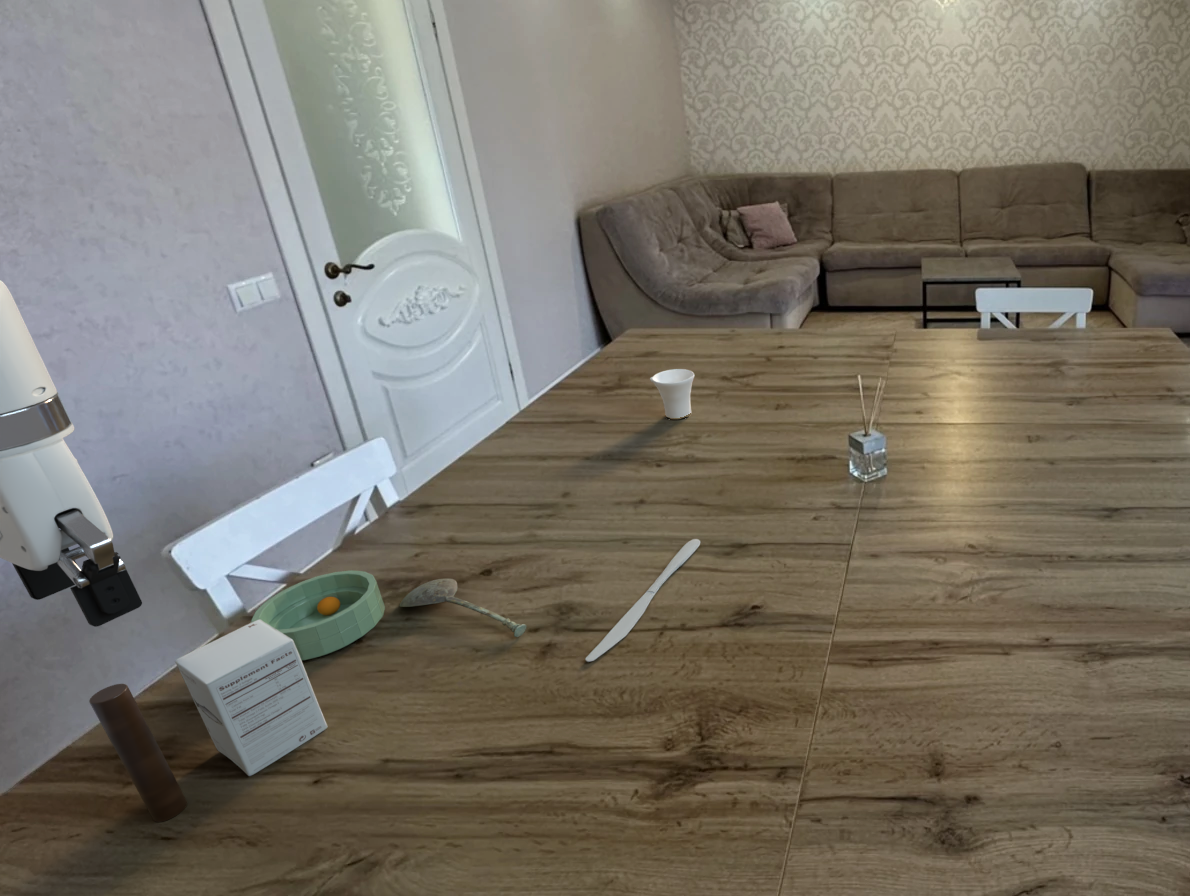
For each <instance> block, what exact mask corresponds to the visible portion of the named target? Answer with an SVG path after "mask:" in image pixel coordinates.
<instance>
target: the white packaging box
mask: <svg viewBox="0 0 1190 896" xmlns="http://www.w3.org/2000/svg"><path fill="white" fill-rule="evenodd" d="M174 663H175V665H176V667H177V669H178V671H179V673H180V675H181V677H182V679H183V681H184V684H185V685H186V688H187V689H188V691H189V694H190V696H191V698H192V700H193V702H194V704H195V706H196V709H197V711H198V713H199V715H200V717H201V719H202V721H203V724H204V726H205V728H206V730H207V732H208V734H209V736H210V739H211V740H212V742H213V744H214V746H215V748H216V750H217V752H219V753H221V754H222V755H223V756H225V757H227V758H228V759H229V760H230V761H231V762H233V763H234V764H235V765H236V766H238V768H239V769H241V771H243V773H245V774H246V775H247V776H248V777H252V776H254V775H255V774H257V773H258V772H260V771H262V770H263V769H266V768H267V767H268V766H270V765H271V764H273V763H275V762H276V761H278V760H279V759H281V758H282V757H284V756H286V755H287V754H289V753H290V752H293V751H294V750H295V749H297V748H299V747H300V746H302V745H304V744H305V743H307V742H308V741H310V740H311V739H313V738H314V737H316V736H318V735H319V734H321V733H322V732H324V731H326V729H328V723H327V721H326V719H325V716H324V714H323V712H322V709H321V706H320V704H319V702H318V699H317V696H316V694H315V691H314V689H313V686H312V684H311V680H310V679H309V676H308V673H307V671H306V668H305V666H304V663H303V660H301V658H300V655H299V653H298V650H297V648H296V646H295V644H294V641H293V640H292V639H291V638H289V637H288V636H286V635H284V634H283V633H281V632H280V631H278V630H277V629H275V628H273V627H271V626H270V625H268V624H267V623H265V622H263V621H262V620H257V621H254V622H252V623H251V622H250V623H247V624H245V625H244V626H241V627H239V628H237V629H234V630H233V631H230V632H229V633H227V634H225V635H223V636H221V637H219V638H217V639H215V640H213V641H211V642H209V643H206V644H205V645H202V646H201V647H198V648H196V649H195V650H192V651H191V652H188V653H186V654H184V655H182V656H179V658H177V659H175V660H174Z"/></svg>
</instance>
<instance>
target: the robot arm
mask: <svg viewBox="0 0 1190 896" xmlns="http://www.w3.org/2000/svg"><path fill="white" fill-rule="evenodd" d="M75 428H76V427H75V426H74V424H73V422H72V419H71V417H70V415H69V413H68V410H67V408H66V406H65V405H64V402H63V400H62V398H61V396H60V394H59V392H58V389H57V388H56V386H55V383H54V382H53V380H52V377H51V375H50V373H49V371H48V368H47V366H46V364H45V362H44V360H43V357H42V356H41V353H40V351H39V349H38V347H37V345H36V344H35V341H34V339H33V337H32V335H31V333H30V331H29V328H28V327H27V325H26V323H25V321H24V319H23V316H22V314H21V311H20V310H19V308H18V305H17V303H16V301H15V298H14V297H13V295H12V293H11V291H10V289H9V288H8V286H7V285H6V284H5V282H4V281H2V280H1V279H0V559H2V560H4V561H6V562H8V563H11V564H12V566H13V568H14V570H15V571H16V573H17V575H18V577H19V578H20V581H21V583H22V584H23V586H24V588H25V590H26V592H27V594H28V595H29V597H30V598H31V599H33V600H38V601H39V600H43V599H45V598H48V597H50V596H52V595H55V594H57V593H59V592H62V591H64V590H66V589H70V591H71V593H72V595H73V596H74V598H75V601H76V602H77V604H78V606H79V608H80V611H81V612H82V614H83V615H84V618H85V620H86V622H87V623H88V625H90V626H92V627H95V628H97V627H101V626H102V625H104V624H105V625H106V624H107V623H109V622H111V621H113V620H115V619H118V618H120V617H122V616H124V615H126V614H129V613H131V612H132V611H135V610H137V609H139V608H140V607H142V605H143V601H142V599H141V597H140V594H139V593H138V590H137V588H136V587H135V584H134V582H133V580H132V578H131V576H130V574H129V572H128V569H127V567H126V565H125V563H124V562H123V561H122V559H121V555H119V553H118V552H117V551H115V548H114V543H113V539H114V533H113V529H112V527H111V524H110V522H109V519H108V516H107V515H106V513H105V510H104V508H103V506H102V504H101V502H100V501H99V499H98V496H97V494H96V493H95V491H94V488H92V486H91V483H90V482H89V479H88V478H87V476H86V475H85V473H84V471H83V469H82V468H81V466H80V464H79V461H78V459H77V458H76V457H75V456H74V454H73V453H72V451H71V449H70V448H69V446H68V444H67V443H66V440H64V438H67V437H68V436H69V435H72V433H73V432H74V431H75ZM76 545H78V547H75V548H72V549H70V547H74V546H76ZM84 557H86V558H87V559H86V560H83V561H82V565H81V568H80V567H79V566H78V564H77V562H76V560H79V559H81V558H84Z"/></svg>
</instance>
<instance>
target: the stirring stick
mask: <svg viewBox="0 0 1190 896" xmlns="http://www.w3.org/2000/svg"><path fill="white" fill-rule="evenodd" d="M88 703H89V705H90V706H91V708H92V710H93V712H94V714H95V715H96V717H97V719H98V721H99V723H100V725H101V727H102V729H103V730H104V732H105V734H106V736H107V738H108V739H109V741H110V743H111V745H112V747H113V748H114V751H115V752H116V754H117V756H118V757H119V760H120V762H121V763H122V765H123V767H124V769H125V770H126V772H127V774H128V776H129V778H130V780H131V781H132V783H133V785H134V787H135V789H136V791H137V792H138V795H139V796H140V799H142V801H143V804H144V805H145V807H146V809H147V811H148V812H149V814H150V816H151V818H152V820H153V821H154V822H156V823H163V822H166V821H169V820H171V819H173V818H175V817H176V816H178V815H179V814H181V813H182V812H183V811H184V810H186V808H187V805H188V800H187V799H186V796H185V795H184V792H183V790H182V788H181V787H180V784H179V783H178V780H177V779H176V777H175V775H174V773H173V771H172V769H171V766H170V765H169V764H168V762H167V760H166V757H165V755H164V754H163V752H162V749H161V748H160V745H159V744H158V742H157V740H156V738H155V735H154V734H153V732H152V730H151V728H150V727H149V725H148V723H147V721H146V719H145V717H144V715H143V713H142V711H141V709H140V707H139V705H138V703H137V701H136V699H135V698H134V696H133V694H132V692H131V689H130V687H129V686H128V685H127V684H126V683H116V684H112V685H109V686H107V687H104V688H103V689H100V690H98V691H97V692H95V693H94V694H93V695H92V696H91V697H90V698H89V700H88Z"/></svg>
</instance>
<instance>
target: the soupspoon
mask: <svg viewBox="0 0 1190 896" xmlns="http://www.w3.org/2000/svg"><path fill="white" fill-rule="evenodd" d="M457 591H458V581H456V579H453V578H437V579H434V580H429V581H427V582H425V583H423V584H420V585H418V586H417V587H415V588H414V589H412V590H411V591H410V592H408V593H407V594H406V595H405V596H404V598H403V599H402V600H401V601H400V603H399V607H401V608H411V607H419V606H427V605H434V604H439V603H440V604H441V603H451V604H454V605H457V606H461V607H464V608H466V609H469V610H472V611H474V612H477V613H480V614H482V615H485V616H487V617H489V618H491V619H494V620H496V621H498V622H500V623H502V625H503V626H506V627H507V628H508V629H510V630H511V632H512V633H513V636H514V638H519V637H521V636H523V634H524V633H525V631H526V630H527V627H528V626H527V624H525V623H523V624H520V623H516V622H515V621H512V620H511V619H510V618H505V617H504V616H502V615H500V614H498V613H496V612H494V611H491V610H489V609H486V608H484V607H481V606H479V605H477V604H474V603H471V602H469V601H467V600H464V599H461V598H458V597H455V594H456V593H457Z"/></svg>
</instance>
